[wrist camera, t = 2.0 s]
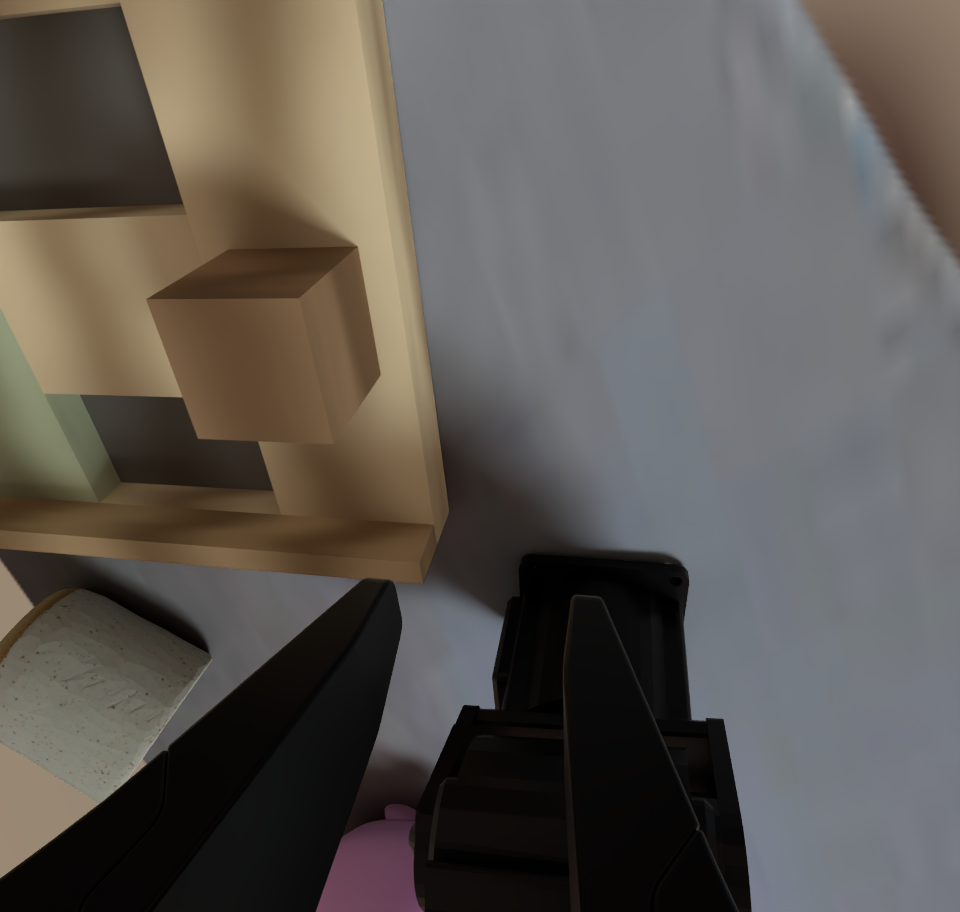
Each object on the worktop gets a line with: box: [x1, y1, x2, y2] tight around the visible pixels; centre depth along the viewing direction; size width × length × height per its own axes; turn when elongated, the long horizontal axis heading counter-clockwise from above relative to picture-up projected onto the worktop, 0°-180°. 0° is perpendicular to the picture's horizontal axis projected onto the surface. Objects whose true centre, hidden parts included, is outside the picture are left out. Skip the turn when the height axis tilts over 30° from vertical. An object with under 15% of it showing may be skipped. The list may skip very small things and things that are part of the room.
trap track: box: [0, 0, 449, 584], centre depth 21 cm, size 20×18×4 cm
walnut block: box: [146, 246, 381, 444], centre depth 18 cm, size 4×4×4 cm
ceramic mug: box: [0, 587, 212, 803], centre depth 32 cm, size 11×8×8 cm
